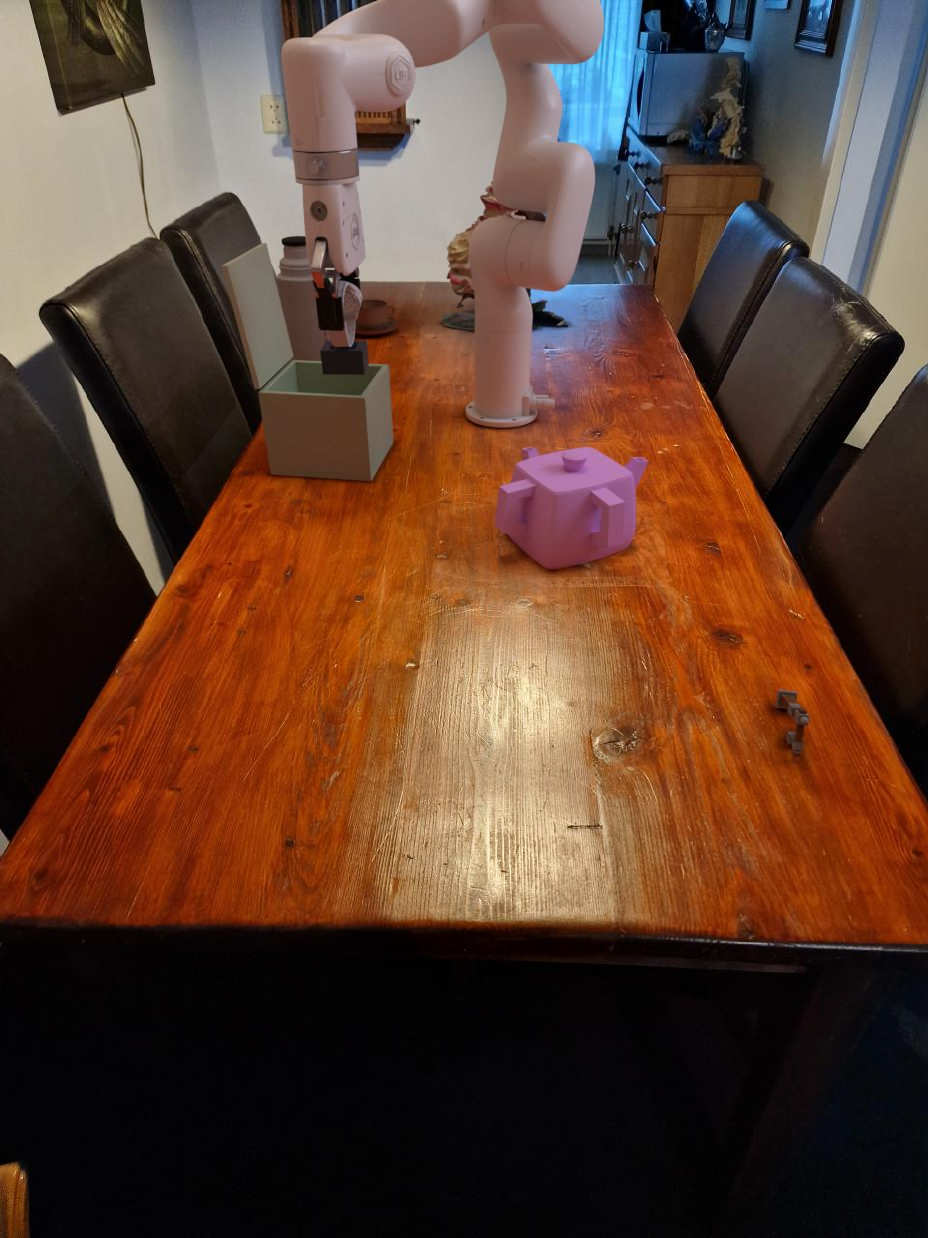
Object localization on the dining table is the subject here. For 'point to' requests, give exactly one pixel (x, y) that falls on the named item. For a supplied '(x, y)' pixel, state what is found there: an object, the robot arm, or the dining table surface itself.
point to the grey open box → (327, 421)
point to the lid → (258, 313)
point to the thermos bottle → (299, 301)
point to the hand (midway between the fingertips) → (341, 318)
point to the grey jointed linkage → (800, 716)
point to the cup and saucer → (375, 318)
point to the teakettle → (570, 505)
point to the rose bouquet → (462, 271)
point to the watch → (346, 339)
